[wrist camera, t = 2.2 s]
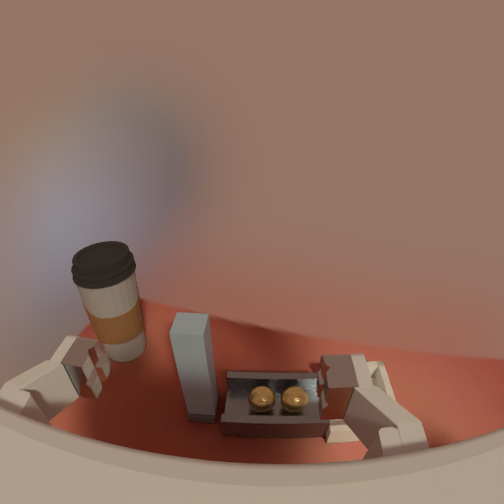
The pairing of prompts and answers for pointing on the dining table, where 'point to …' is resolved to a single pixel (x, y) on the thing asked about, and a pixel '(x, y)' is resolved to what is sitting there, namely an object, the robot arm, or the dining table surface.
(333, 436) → the ball tray
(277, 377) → the slot rail
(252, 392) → the brass sphere
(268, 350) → the dining table surface
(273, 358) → the dining table surface
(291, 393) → the gold metallic ball
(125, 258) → the coffee cup
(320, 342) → the dining table surface
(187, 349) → the tall gray pillar
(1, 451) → the robot arm
